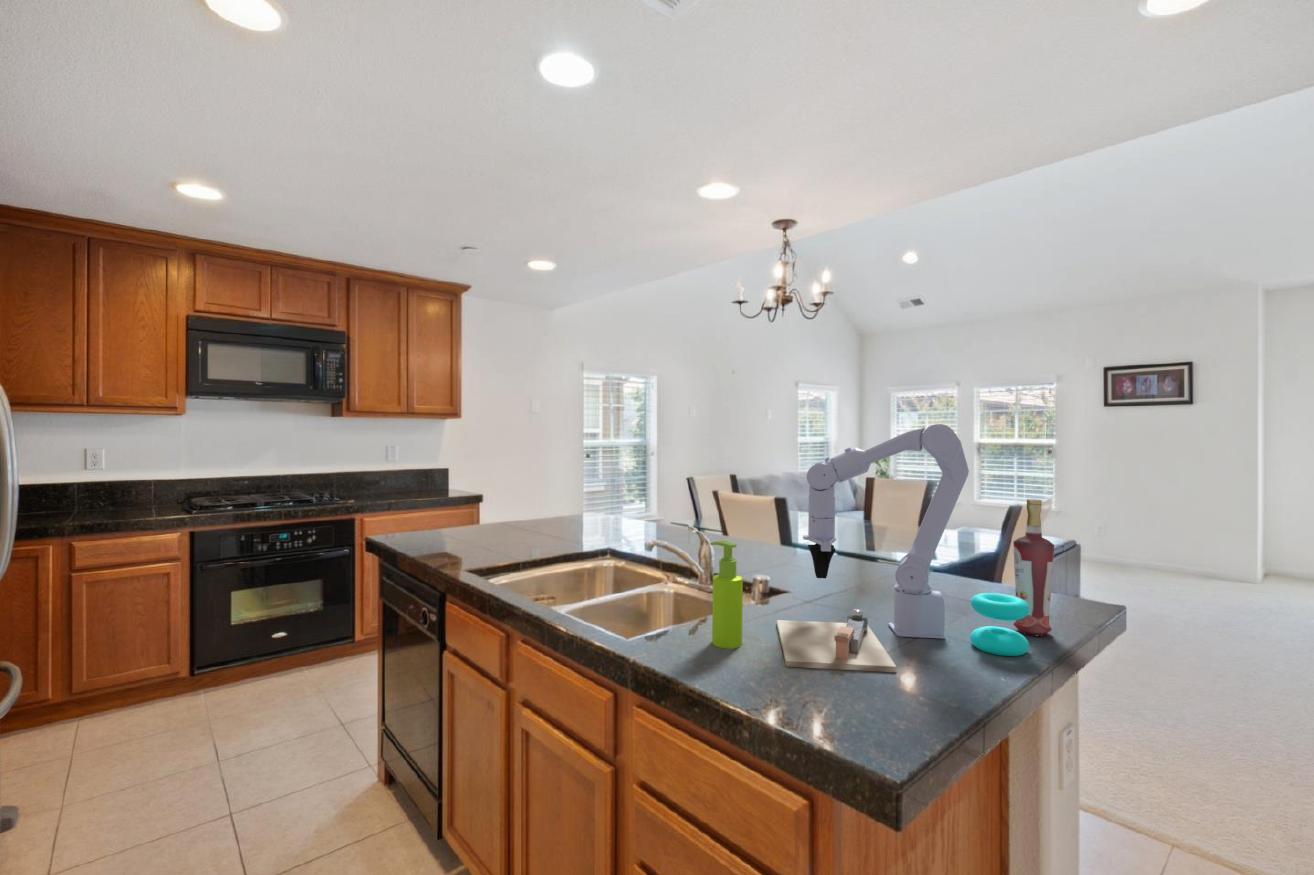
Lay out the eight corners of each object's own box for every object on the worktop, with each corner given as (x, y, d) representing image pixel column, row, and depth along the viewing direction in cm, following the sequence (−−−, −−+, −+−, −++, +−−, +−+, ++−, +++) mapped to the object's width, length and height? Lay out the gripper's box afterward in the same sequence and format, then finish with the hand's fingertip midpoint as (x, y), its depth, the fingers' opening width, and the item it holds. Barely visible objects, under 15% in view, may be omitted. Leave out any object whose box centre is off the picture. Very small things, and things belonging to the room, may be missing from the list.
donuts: (1034, 607, 114) (973, 601, 118) (1033, 661, 114) (972, 653, 118) (1025, 594, 123) (968, 589, 127) (1024, 644, 123) (968, 637, 127)
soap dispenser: (721, 634, 127) (721, 538, 127) (748, 643, 123) (748, 542, 122) (702, 641, 123) (702, 541, 123) (729, 650, 118) (730, 546, 118)
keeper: (840, 647, 118) (840, 626, 118) (854, 649, 117) (854, 628, 117) (834, 657, 113) (834, 635, 112) (848, 659, 111) (848, 637, 111)
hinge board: (867, 628, 132) (867, 623, 132) (896, 672, 108) (896, 666, 108) (776, 624, 134) (776, 619, 134) (786, 666, 111) (786, 660, 111)
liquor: (1059, 639, 126) (1061, 502, 125) (1019, 637, 127) (1021, 501, 127) (1044, 628, 133) (1046, 498, 132) (1007, 626, 134) (1008, 497, 134)
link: (848, 625, 130) (848, 606, 130) (868, 628, 129) (868, 609, 128) (838, 650, 116) (838, 629, 115) (860, 653, 114) (860, 632, 114)
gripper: (799, 512, 146) (799, 569, 146) (807, 521, 131) (806, 585, 131) (830, 512, 145) (830, 570, 145) (841, 522, 130) (840, 586, 130)
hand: (821, 577), depth 138 cm, fingers closed
